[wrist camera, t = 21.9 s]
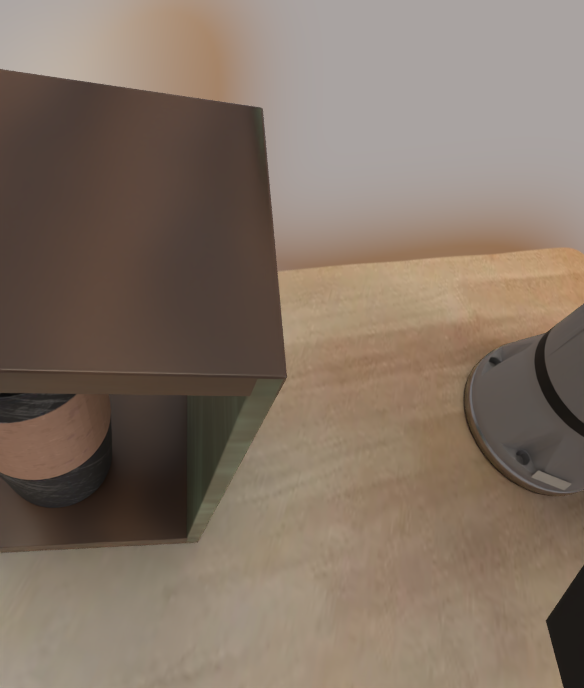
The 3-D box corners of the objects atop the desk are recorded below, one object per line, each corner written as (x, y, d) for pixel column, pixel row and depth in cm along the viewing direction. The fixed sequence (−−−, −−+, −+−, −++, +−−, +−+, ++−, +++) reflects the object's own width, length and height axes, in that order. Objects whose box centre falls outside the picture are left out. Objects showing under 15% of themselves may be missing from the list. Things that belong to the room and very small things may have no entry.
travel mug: (138, 453, 42) (136, 317, 25) (58, 536, 38) (-9, 442, 21) (63, 391, 42) (12, 219, 25) (-22, 465, 38) (-150, 321, 22)
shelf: (197, 395, 47) (263, 106, 22) (198, 542, 41) (287, 378, 16) (5, 393, 43) (-178, 41, 18) (-23, 553, 38) (-341, 363, 13)
